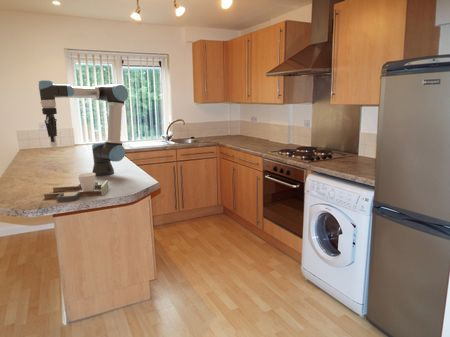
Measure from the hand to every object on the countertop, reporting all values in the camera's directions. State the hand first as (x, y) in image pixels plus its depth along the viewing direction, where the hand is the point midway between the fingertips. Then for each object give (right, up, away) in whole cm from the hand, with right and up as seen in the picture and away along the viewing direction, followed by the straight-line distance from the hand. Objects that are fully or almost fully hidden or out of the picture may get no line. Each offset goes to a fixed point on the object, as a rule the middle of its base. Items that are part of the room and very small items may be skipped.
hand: (54, 147), depth 199 cm
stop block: (+31, -27, -2) cm, 41 cm away
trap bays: (+16, -28, -4) cm, 32 cm away
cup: (+22, -27, -3) cm, 35 cm away
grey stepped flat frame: (+16, -28, -4) cm, 32 cm away
